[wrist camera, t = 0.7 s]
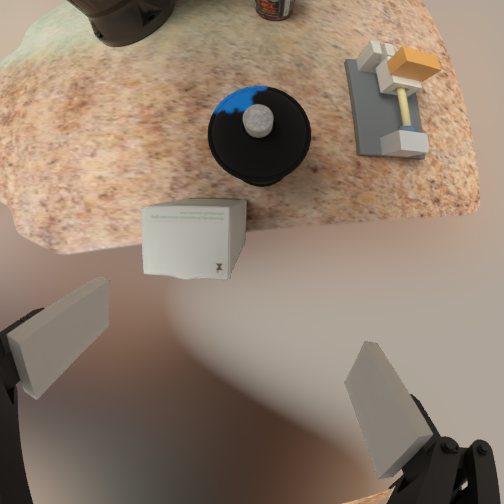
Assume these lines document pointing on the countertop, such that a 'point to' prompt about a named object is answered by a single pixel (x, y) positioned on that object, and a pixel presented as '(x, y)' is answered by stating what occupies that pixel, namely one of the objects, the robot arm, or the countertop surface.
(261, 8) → the supplement bottle
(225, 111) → the aerosol can
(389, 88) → the sleeve
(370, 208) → the countertop surface
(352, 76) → the cord board
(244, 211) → the skincare box
